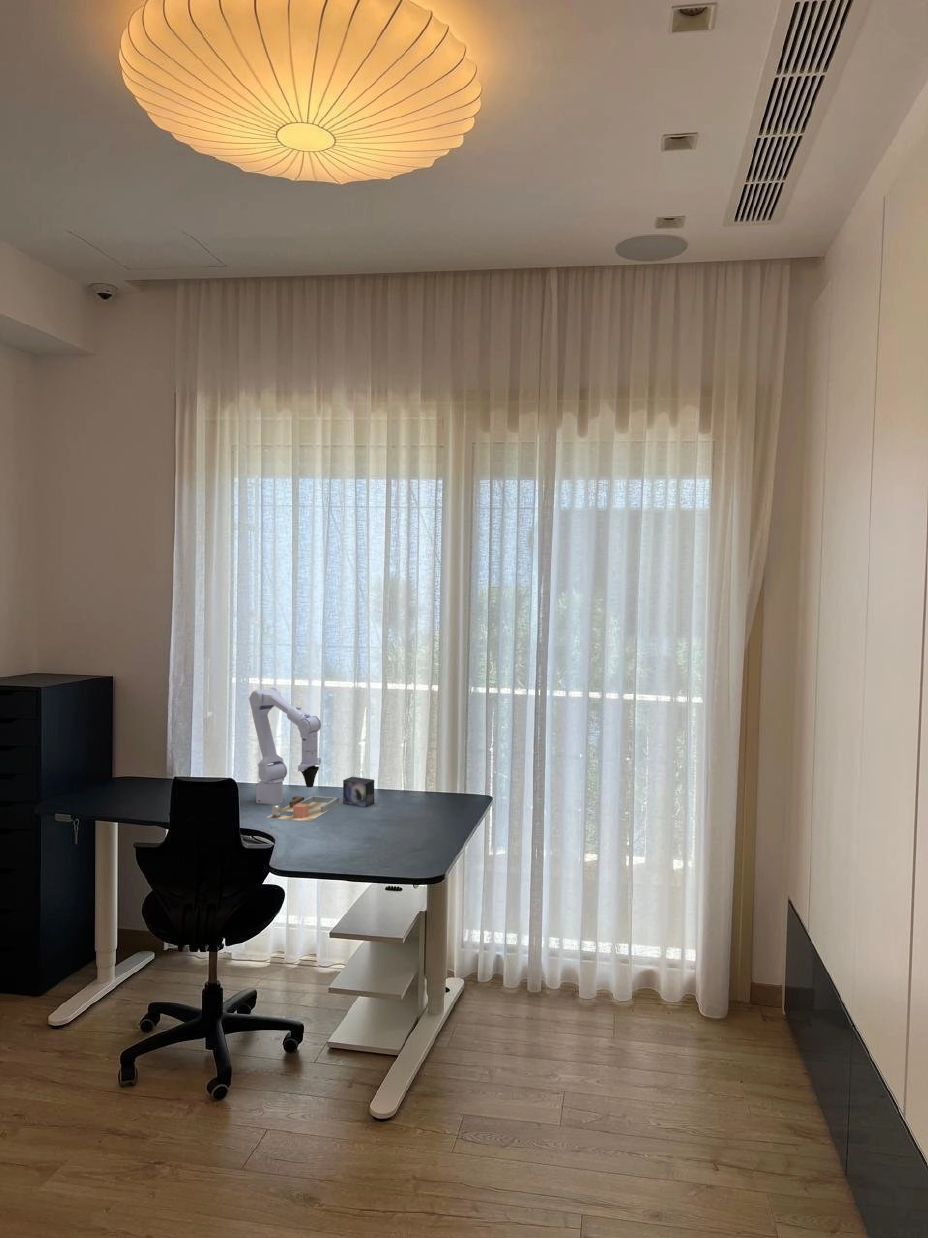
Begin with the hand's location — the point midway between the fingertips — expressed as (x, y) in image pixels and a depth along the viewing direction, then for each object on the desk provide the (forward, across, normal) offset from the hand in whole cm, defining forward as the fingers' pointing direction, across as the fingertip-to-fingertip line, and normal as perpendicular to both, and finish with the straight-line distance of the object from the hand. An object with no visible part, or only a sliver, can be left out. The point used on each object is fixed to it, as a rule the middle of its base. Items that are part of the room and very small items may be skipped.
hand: (309, 786), depth 329 cm
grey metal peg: (+9, -12, +7) cm, 16 cm away
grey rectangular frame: (+9, +6, 0) cm, 10 cm away
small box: (+10, +14, -13) cm, 22 cm away
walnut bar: (+9, +6, +8) cm, 13 cm away
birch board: (+10, 0, +2) cm, 10 cm away
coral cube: (+9, -8, -1) cm, 12 cm away
